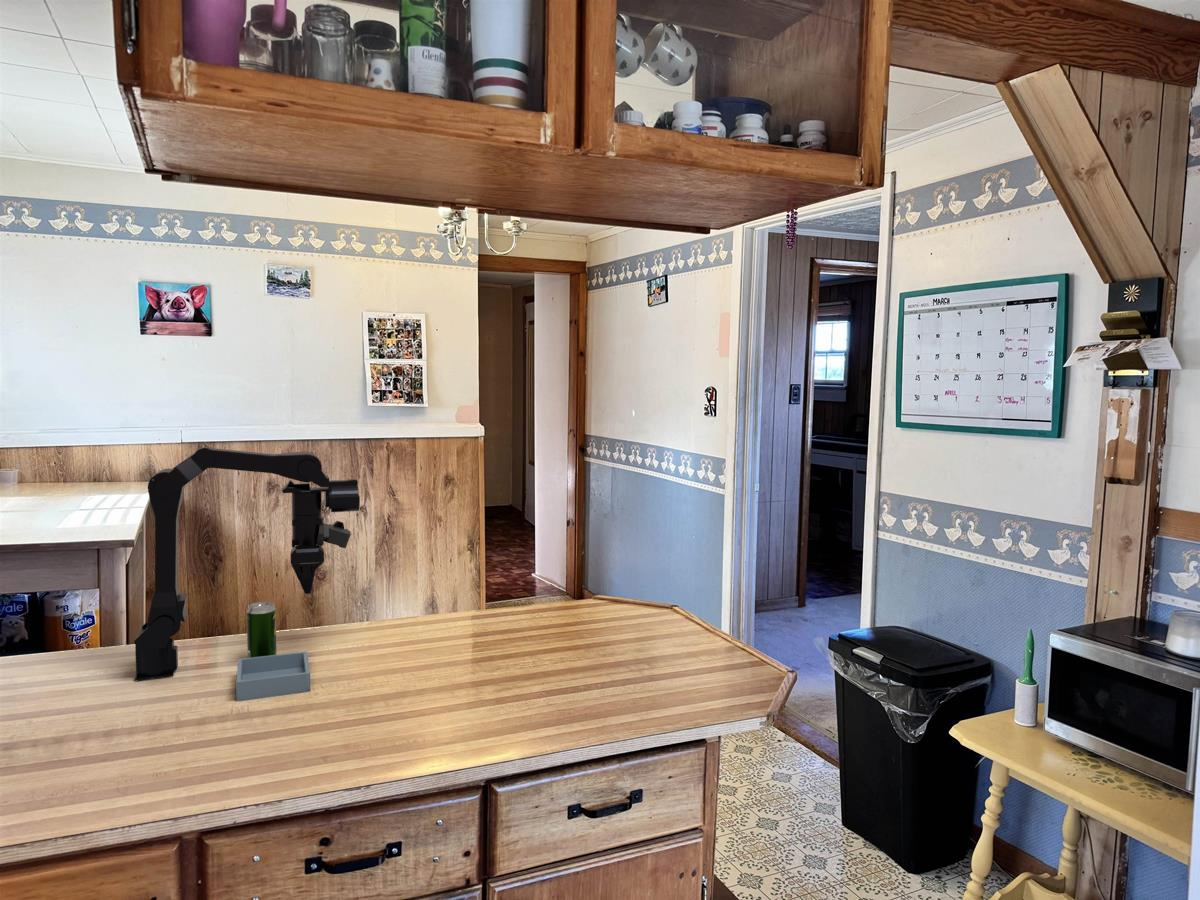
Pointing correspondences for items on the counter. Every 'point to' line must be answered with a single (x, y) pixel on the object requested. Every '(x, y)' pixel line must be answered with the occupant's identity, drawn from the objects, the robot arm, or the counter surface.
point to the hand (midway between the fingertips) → (307, 587)
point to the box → (272, 676)
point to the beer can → (261, 629)
